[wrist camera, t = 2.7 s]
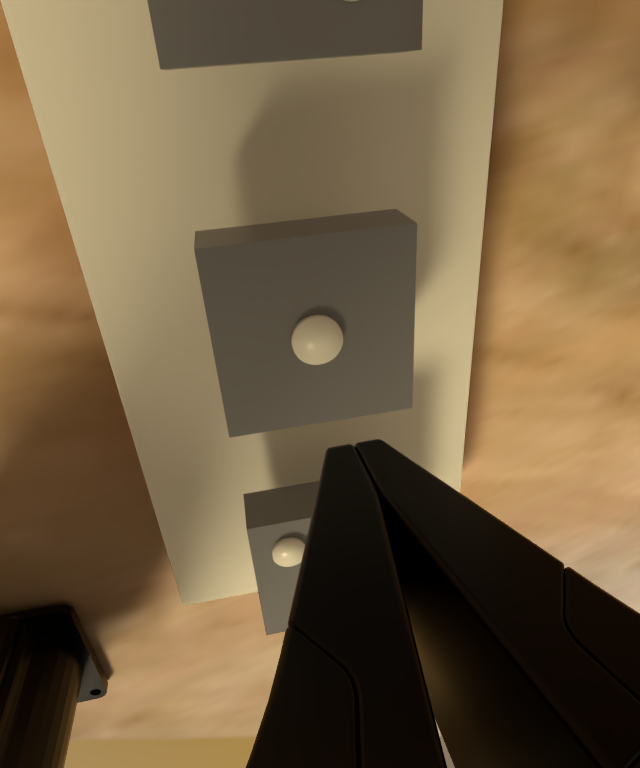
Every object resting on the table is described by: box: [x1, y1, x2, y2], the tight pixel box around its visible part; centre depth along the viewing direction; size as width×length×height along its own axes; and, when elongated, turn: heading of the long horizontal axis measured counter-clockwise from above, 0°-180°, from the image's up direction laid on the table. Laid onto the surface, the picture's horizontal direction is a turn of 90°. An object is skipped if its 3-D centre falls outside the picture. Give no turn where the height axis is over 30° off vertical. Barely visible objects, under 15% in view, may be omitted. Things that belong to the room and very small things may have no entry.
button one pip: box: [194, 209, 417, 438], centre depth 13 cm, size 5×5×2 cm
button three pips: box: [243, 481, 319, 635], centre depth 17 cm, size 5×5×2 cm
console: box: [1, 0, 503, 606], centre depth 16 cm, size 24×11×3 cm, turn 4°
